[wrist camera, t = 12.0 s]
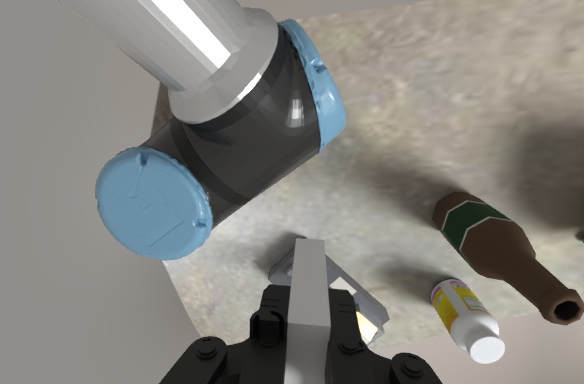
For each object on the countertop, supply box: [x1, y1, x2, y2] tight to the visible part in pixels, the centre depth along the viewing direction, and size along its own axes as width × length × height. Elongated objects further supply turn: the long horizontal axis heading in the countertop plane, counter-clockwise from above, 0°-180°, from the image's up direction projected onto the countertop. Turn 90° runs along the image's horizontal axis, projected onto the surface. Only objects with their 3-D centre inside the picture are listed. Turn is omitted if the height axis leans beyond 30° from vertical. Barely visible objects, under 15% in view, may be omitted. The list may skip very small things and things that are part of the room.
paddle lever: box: [356, 311, 377, 340], centre depth 49 cm, size 2×4×12 cm, turn 47°
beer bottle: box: [433, 192, 584, 325], centre depth 41 cm, size 8×8×24 cm
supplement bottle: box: [431, 279, 505, 364], centre depth 51 cm, size 7×7×13 cm
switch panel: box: [268, 237, 390, 346], centre depth 55 cm, size 9×20×5 cm, turn 47°
